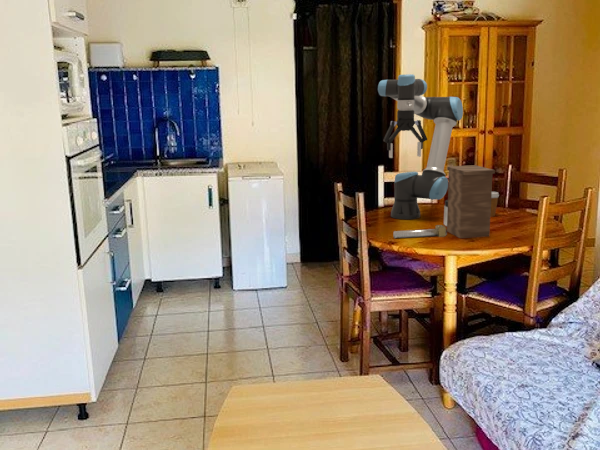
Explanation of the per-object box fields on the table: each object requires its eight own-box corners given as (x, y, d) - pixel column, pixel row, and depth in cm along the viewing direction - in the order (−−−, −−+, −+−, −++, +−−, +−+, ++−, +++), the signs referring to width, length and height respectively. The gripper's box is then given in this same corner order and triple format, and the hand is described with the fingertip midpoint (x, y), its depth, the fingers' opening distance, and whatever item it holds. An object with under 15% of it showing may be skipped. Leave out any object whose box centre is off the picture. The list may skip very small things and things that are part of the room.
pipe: (392, 237, 270) (393, 227, 269) (443, 234, 273) (444, 224, 272) (395, 239, 265) (396, 229, 264) (447, 236, 269) (447, 226, 268)
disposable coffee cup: (502, 216, 307) (503, 193, 305) (487, 218, 304) (488, 194, 301) (489, 212, 316) (491, 190, 313) (475, 214, 313) (476, 192, 310)
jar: (452, 227, 284) (453, 203, 282) (440, 224, 291) (441, 200, 288) (465, 225, 289) (466, 200, 286) (453, 222, 296) (453, 198, 293)
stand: (445, 230, 280) (447, 166, 273) (472, 228, 282) (475, 165, 276) (462, 239, 263) (464, 171, 256) (491, 237, 265) (495, 170, 258)
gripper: (381, 110, 262) (381, 159, 267) (435, 109, 267) (433, 156, 271) (376, 110, 270) (376, 157, 274) (428, 108, 274) (427, 155, 279)
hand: (404, 157), depth 273 cm, fingers open, 13 cm apart
